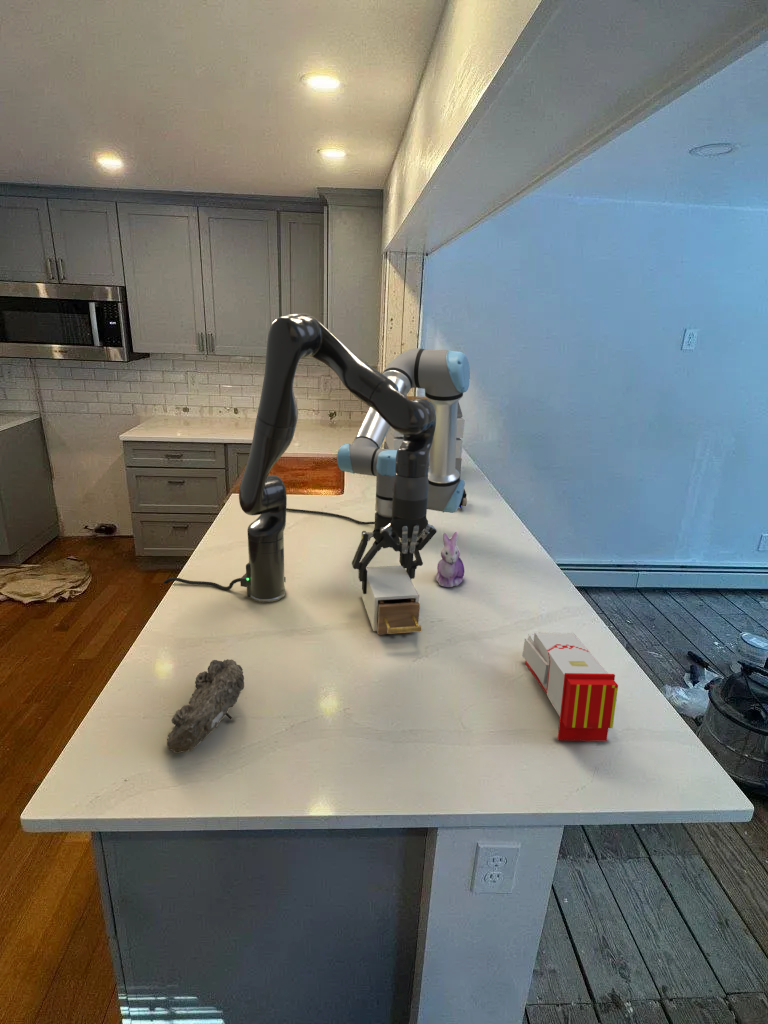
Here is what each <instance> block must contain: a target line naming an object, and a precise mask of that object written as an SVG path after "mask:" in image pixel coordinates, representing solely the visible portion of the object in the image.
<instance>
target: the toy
mask: <svg viewBox="0 0 768 1024" xmlns="http://www.w3.org/2000/svg"><path fill="white" fill-rule="evenodd" d="M522 658H523V659H524V664H525V665H526V666H527V669H529V671H530V672H531V674H532V675H533V677H534V679H535V680H536V681H537V682H538V685H540V687H541V689H542V690H543V692H544V693H545V694H546V696H547V698H548V700H549V701H550V703H551V705H552V706H553V708H554V710H555V711H556V713H557V715H558V716H559V722H558V733H557V740H558V741H572V742H573V741H577V742H578V741H580V742H581V741H582V742H583V741H584V742H585V741H586V742H607V741H608V735H609V734H608V733H609V729H613V727H614V719H615V712H616V705H617V698H618V697H617V696H618V689H619V684H618V683H617V682H616V681H615V678H616V675H615V673H608V672H607V671H606V669H605V668H604V667H603V665H602V664H601V663H600V662H599V661H598V660H597V659H596V657H595V656H594V655H593V653H591V652H590V650H589V649H588V648H587V646H585V645H584V643H583V642H582V641H581V640H580V639H579V638H578V637H577V635H576V634H575V633H574V632H541V631H540V632H537V631H535V632H533V633H528V637H526V638H524V641H523V649H522Z"/></svg>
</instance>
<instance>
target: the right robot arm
mask: <svg viewBox="0 0 768 1024" xmlns="http://www.w3.org/2000/svg"><path fill="white" fill-rule="evenodd" d="M470 370H471V368H470V362H469V359H468V357H467V355H466V353H464V352H462V351H456V350H452V349H432V348H431V349H430V348H419V347H416V348H411V349H408V350H405V351H403V352H402V353H400V354H398V355H397V356H396V357H394V358H393V359H392V360H391V361H390V362H389V363H388V364H387V365H386V367H385V368H384V369H383V371H382V372H381V373H382V374H383V375H384V376H386V377H387V378H389V379H390V380H392V381H393V382H394V383H395V384H396V385H397V386H398V392H400V393H401V394H402V395H403V396H404V395H406V394H407V395H408V394H409V393H410V391H411V389H416V388H417V389H424V397H426V398H427V399H428V400H429V401H430V402H431V404H432V405H433V406H434V408H435V412H436V427H435V432H434V437H433V441H432V445H431V449H430V452H429V468H428V483H429V485H428V500H427V510H430V511H435V512H436V511H437V512H441V513H450V514H453V513H456V512H457V511H458V509H459V508H460V507H459V505H460V502H461V499H462V496H463V492H464V489H465V485H466V483H465V482H466V481H465V479H462V478H461V474H460V473H459V472H458V471H457V470H456V469H455V462H456V436H457V410H458V402H459V401H460V400H461V399H462V398H464V393H466V392H467V391H468V390H469V387H470V379H471V371H470ZM389 427H390V425H389V424H388V423H387V422H386V421H385V420H384V419H383V418H382V417H381V416H380V415H379V414H378V412H377V411H376V410H374V409H372V408H371V407H370V406H369V408H368V411H367V412H366V415H365V417H364V419H363V420H362V422H361V425H360V427H359V429H358V431H357V433H356V436H355V438H354V439H353V441H352V443H343V444H342V445H340V446H339V448H338V451H337V455H336V464H337V468H338V469H339V470H340V471H341V472H346V473H350V474H353V475H354V474H357V475H364V476H371V477H372V476H373V477H376V479H375V481H376V482H375V504H374V505H375V506H374V511H375V513H374V521H361V520H357V519H355V518H352V517H349V516H346V515H343V514H338V513H332V512H328V511H327V512H325V511H318V510H308V509H298V508H289V507H286V512H297V513H305V514H315V515H324V516H331V517H336V518H341V519H344V520H348V521H351V522H353V523H355V524H358V525H367V526H368V525H374V527H373V531H368V532H367V531H366V530H363V531H362V532H361V539H360V542H359V544H358V546H357V549H356V551H355V553H354V556H353V559H352V561H351V566H352V568H353V569H354V570H358V575H357V576H358V580H359V582H361V591H363V594H366V592H367V569H366V567H369V566H368V565H369V564H370V563H371V562H372V560H373V559H374V558H375V556H376V555H377V554H378V553H379V552H380V551H381V550H382V549H388V548H391V549H393V548H392V547H391V545H390V544H389V543H388V542H387V540H386V539H385V538H384V537H383V535H382V534H381V532H380V528H381V527H386V526H387V525H388V524H389V521H390V519H391V517H392V503H393V484H394V477H395V466H396V453H397V450H389V449H384V448H381V447H382V445H383V444H384V442H385V438H386V434H387V432H388V429H389ZM458 507H459V508H458ZM391 531H392V535H391V537H392V538H393V539H394V540H395V542H396V543H397V544H399V537H398V536H397V534H396V533H395V532H394V530H393V529H391ZM422 534H423V532H422V533H421V534H420V535H419V536H418V537H417V539H419V537H420V536H421V535H422ZM372 538H373V539H374V541H373V542H372V545H371V547H370V548H369V549H368V551H367V552H366V554H365V555H364V553H365V551H366V548H367V546H368V543H369V542H370V541H371V539H372ZM423 564H424V562H423V560H422V556H421V553H420V550H417V551H415V552H414V559H413V564H412V566H410V568H405V570H406V571H407V573H408V575H409V577H410V579H411V580H413V579H415V578H416V570H417V568H418V567H422V566H423Z"/></svg>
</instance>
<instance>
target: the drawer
mask: <svg viewBox="0 0 768 1024" xmlns="http://www.w3.org/2000/svg"><path fill="white" fill-rule="evenodd" d="M420 608H421V604H420V601H419V602H414V599H413V598H408V599H392V600H378V611H377V623H378V628H377V631H376V632H377V635H392V634H405V633H407V634H408V633H418V632H419V633H420V632H422V625H419V623H420V622H419V619H420Z"/></svg>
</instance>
